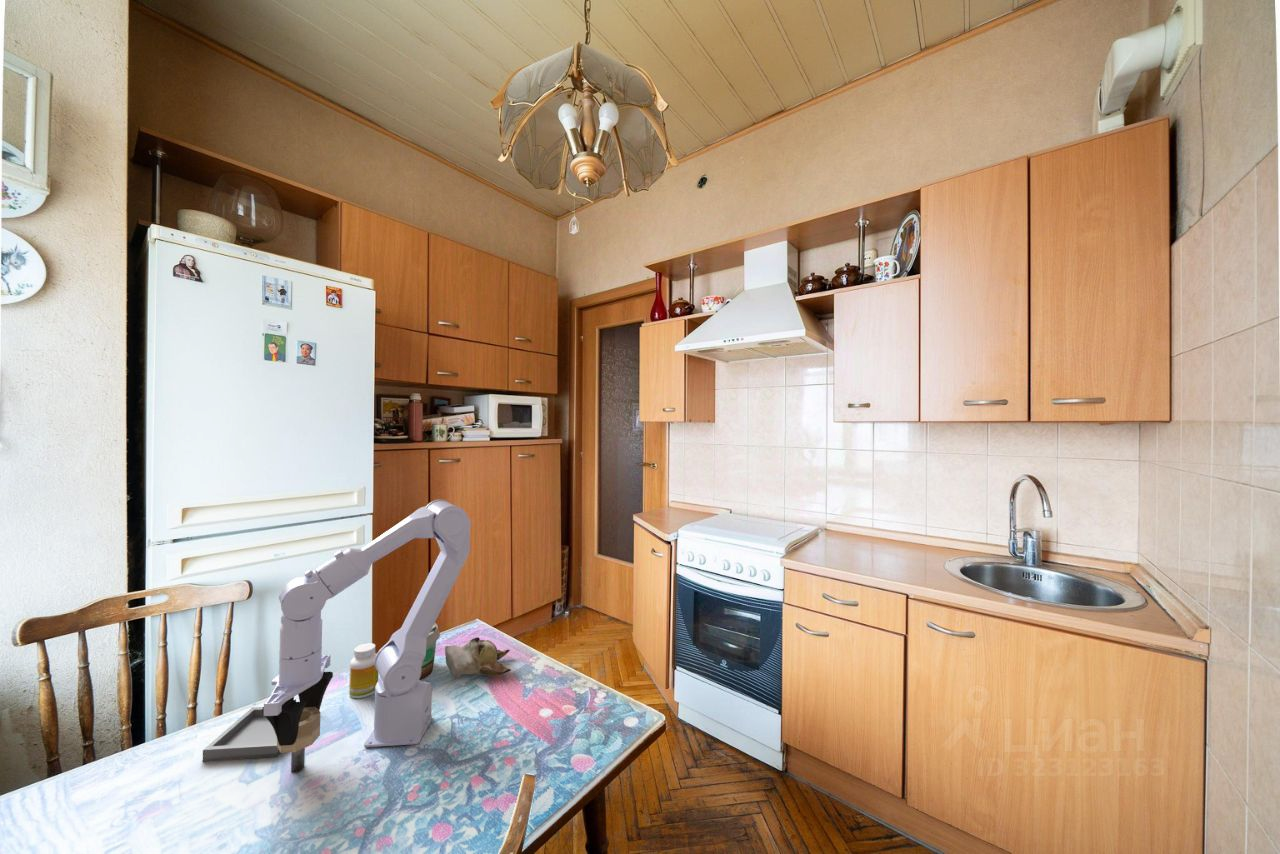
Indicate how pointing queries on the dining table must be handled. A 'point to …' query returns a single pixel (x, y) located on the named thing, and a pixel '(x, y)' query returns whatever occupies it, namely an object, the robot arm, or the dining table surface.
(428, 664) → the food container
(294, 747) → the ring
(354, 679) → the supplement bottle
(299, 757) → the stake
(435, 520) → the robot arm
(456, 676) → the ceramic sculpture
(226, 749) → the tray
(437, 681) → the dining table surface
